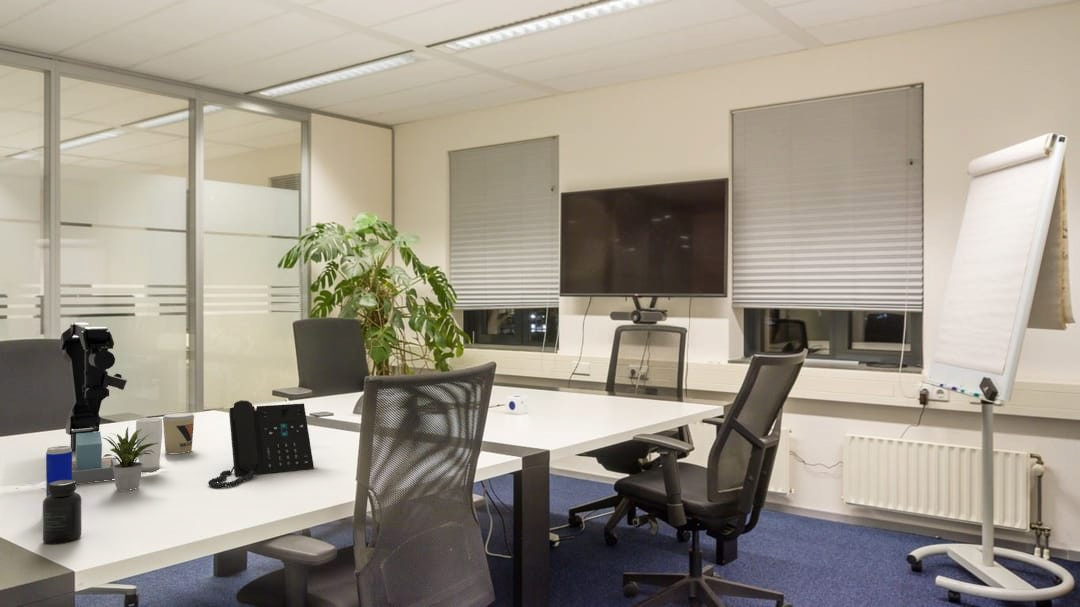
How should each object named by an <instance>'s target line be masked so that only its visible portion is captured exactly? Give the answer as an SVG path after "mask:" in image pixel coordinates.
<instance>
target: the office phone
mask: <svg viewBox="0 0 1080 607" xmlns="http://www.w3.org/2000/svg"><path fill="white" fill-rule="evenodd" d="M228 413H229V414H228V415H229V427H230V438H231V449H232V460H233V461H232V463H233V466H232V469H231V470H230V469H229V470H228V469H227V470H223V471H222V472H221V473H220V474H219V476H216V477H214V478H211V479H210V480H208V482H207V483H208V485H209V486H210V488H214V489H223V488H222V487H225V488H229V487H230V488H231V486H232V487H235V486H237V485H239V484H242V483H243V482H244V481H245V482H247V481H249V480H252V479H253V478H254V477H255V476H256V475H262V474H270V473H271V474H272V473H280V472H281V473H282V472H291V471H292V472H293V471H302V470H303V471H304V470H314V469H315V467H314V460H313V452H312V447H311V441H310V440H311V439H310V433H309V429H308V420H307V414H306V413H307V412H306V408H305V403H293V404H292V403H288V404H287V403H286V404H272V405H271V404H270V405H269V404H268V405H257V406H256V408H255V405H253V403H252V402H250V401H249V400H242V399H241V400H238V401H235V403H234V404H233V406H232V407H230V408H229V412H228ZM233 472H234V473H233ZM232 474H233V475H234V476H235V477H236V479H234V480H231V481H227V482H226V481H225V480H224V479H226V478H228V476H231V475H232ZM227 475H228V476H227ZM238 476H239V477H238ZM222 480H223V481H224V482H223V481H222ZM226 480H227V479H226ZM217 482H218V483H217ZM236 484H237V485H236ZM234 485H235V486H234Z"/></svg>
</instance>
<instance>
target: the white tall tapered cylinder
mask: <svg viewBox="0 0 1080 607" xmlns="http://www.w3.org/2000/svg"><path fill="white" fill-rule="evenodd" d="M135 421H136V423H135V432H136V431H137V430H141V431H140V432H139V433H138V434H137V439H136V441H138V440H139V439H141V440H142V438H144V437H145V436H147V435H148V434H150V433H152V434H150V435H148V436H150V437H148V436H147V437H146V438H145V439H144V440H143V441H142V442H141V443H140V444H139V445H138V446H143V445H146V444H150V443H158V444H154V445H152V446H149V447H147V448H145V449H143V450H142V451H141V452H143V451H146V450H151V451H153V452H151V451H146V452H145V453H150V454H151V455H150V454H143V455H142V456H141V455H140V456H141V457H140V456H138V458H137V460H138V462H140V463H143V466H142V472H141V473H143V472H149V473H155V472H158V471H159V470H160V465H161V463H160V461H161V449H162V440H163V439H162V438H163V418H161V417H147V418H144V417H143V418H139V419H136V420H135ZM153 432H154V433H153ZM141 440H139V441H138V442H137V444H138V443H139V442H140V441H141ZM137 444H136V445H137ZM138 448H139V447H138ZM138 448H136V450H137V449H138ZM143 453H144V452H143ZM141 454H142V453H141ZM139 457H140V458H139ZM157 467H158V468H157ZM157 470H158V471H157ZM154 471H155V472H154Z"/></svg>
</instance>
